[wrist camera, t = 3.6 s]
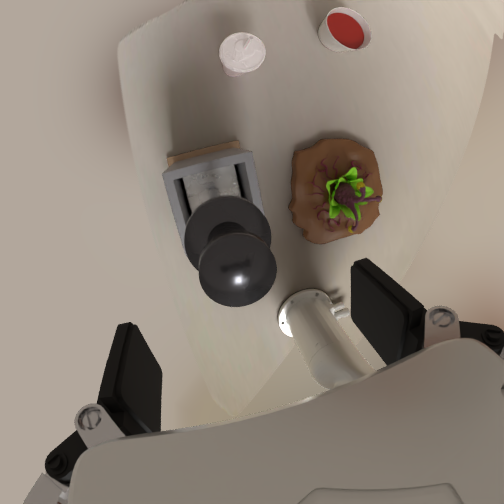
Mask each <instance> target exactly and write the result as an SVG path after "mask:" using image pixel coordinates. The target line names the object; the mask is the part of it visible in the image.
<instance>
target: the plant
mask: <svg viewBox="0 0 504 504" xmlns="http://www.w3.org/2000/svg"><path fill="white" fill-rule="evenodd" d="M292 171H293V172H292V179H291V189H292V200H291V203H290V205H289V207H288V208H289V209H290V210H291V211H292V213H293V219H292V220H293V223H294V224H295V225H297V226H298V227H300V228H303V229H304V231H303V237H304V238H305V239H306V240H308V241H310V242H312V243H316V244H325V243H328V242H331V241H334V240H337V239H340V238H344V237H347V236H350V235H353V234H361V233H362V232H363V231H364V230H365V229H367V228H369V227H370V226H371V225H372V224H373V222H374V221H375V219H376V218H377V217H378V216H379V215H380V213H379V210H378V206H379V203H380V202H381V201H382V197H381V196H382V194H383V190H382V185H381V180H380V174H379V169H378V164H377V160H376V158H375V155H374V152H373V151H372V150H370V149H368V148H365V147H363V146H361V145H359V144H358V143H357V142H355V141H352V140H349V139H341V138H339V139H321V140H319V141H318V142H317V143H316V144H315V145H313V146H312V147H309V148H306V149H303V150H299V151H295V152H294V156H293V159H292Z"/></svg>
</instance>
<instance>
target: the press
mask: <svg viewBox="0 0 504 504" xmlns="http://www.w3.org/2000/svg"><path fill="white" fill-rule="evenodd" d="M167 161H168V165H169V168H168V169H167V170H166V171H164V172H163V173H162V176H163V179H164V183H165V187H166V190H167V194H168V198H169V201H170V205H171V208H172V212H173V215H174V219H175V222H176V225H177V229H178V232H179V235H180V238H181V242H182V245H183V248H184V251H185V246H184V235H185V229H186V225H187V222H188V220H189V218H190V216H191V214H192V211H191V208H190V204H189V200H188V196H187V193H186V189H185V185H184V181H183V177H186V176H190V175H193V174H197V173H201V172H205V171H209V170H213V169H217V168H221V167H225V166H230V165H234V167H235V172H236V176H237V181H238V185H239V190H240V195H241V197H242V198H244V199H246V200H248V201H250V202H252V203H253V204H254V205H255V206H256V207H258V208H259V210H260V211H261V212H262V213H263V215H264V210H263V204H262V199H261V194H260V189H259V184H258V179H257V174H256V169H255V164H254V159H253V154H252V151H248V150H243V149H240V145H239V141H238V140H237V141H232V142H228V143H223V144H219V145H214V146H210V147H206V148H202V149H198V150H194V151H190V152H187V153H183V154H179V155H176V156H172V157H169V158H167ZM264 216H265V215H264ZM185 254H186V251H185ZM186 256H187V254H186Z"/></svg>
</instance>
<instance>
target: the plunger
mask: <svg viewBox="0 0 504 504" xmlns="http://www.w3.org/2000/svg"><path fill="white" fill-rule="evenodd" d="M183 181H184V185H185V189H186V193H187V196H188V200H189V204H190V208H191V211H192V214H191V216H190V218H189V220H188V222H187V225H186V229H185V235H184V246H185V251H186V254H187V257H188V259H189V260H190V262H191V263H192V265H193V266H194V267H195V268H196V269H197V270H198V271H199V280H200V284H201V286H202V288H203V290H204V292H205V293H206V294H207V296H209V297H210V298H211V299H212V300H213V301H215V302H217V303H219V304H221V305H225V306H230V307H241V306H246V305H249V304H252V303H254V302H256V301H258V300H260V299H261V298H262V297H264V296H265V295H266V294H267V293H268V291H269V290H270V289H271V287H272V285H273V283H274V281H275V278H276V273H277V266H276V261H275V258H274V256H273V254H272V252H271V251H270V245H271V230H270V226H269V223H268V221H267V219H266V217H265V216H264V215H263V213H262V212H261V211H260V210H259V208H258V207H256V206H255V205H254V204H253V203H252V202H250V201H248V200H246V199H244V198H242V197H241V195H240V190H239V185H238V181H237V176H236V172H235V167H234V165H230V166H225V167H221V168H217V169H213V170H209V171H205V172H201V173H197V174H193V175H190V176H186V177H183Z"/></svg>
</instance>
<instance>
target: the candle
mask: <svg viewBox="0 0 504 504" xmlns="http://www.w3.org/2000/svg"><path fill="white" fill-rule="evenodd" d="M318 36H319V39H320V41H321V42H322V44H323V45H324V46H325V47H326V48H328V49H330V50H332V51H335V52H347V51H355V50H362V49H364V48H366V47H367V46H369V44H370V42H371V39H372V32H371V29H370V26H369V24H368V23H367V21H366V20H365V19H364V18H363V17H362V16H361V15H360V14H359V13H357V12H356V11H354V10H352V9H349V8H346V7H337V8H334V9H332V10H331V11H330V12H329V13H328V14H327V16H326V17H325V19H324V20H323V22H322V23H321V25H320V27H319V29H318Z"/></svg>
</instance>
